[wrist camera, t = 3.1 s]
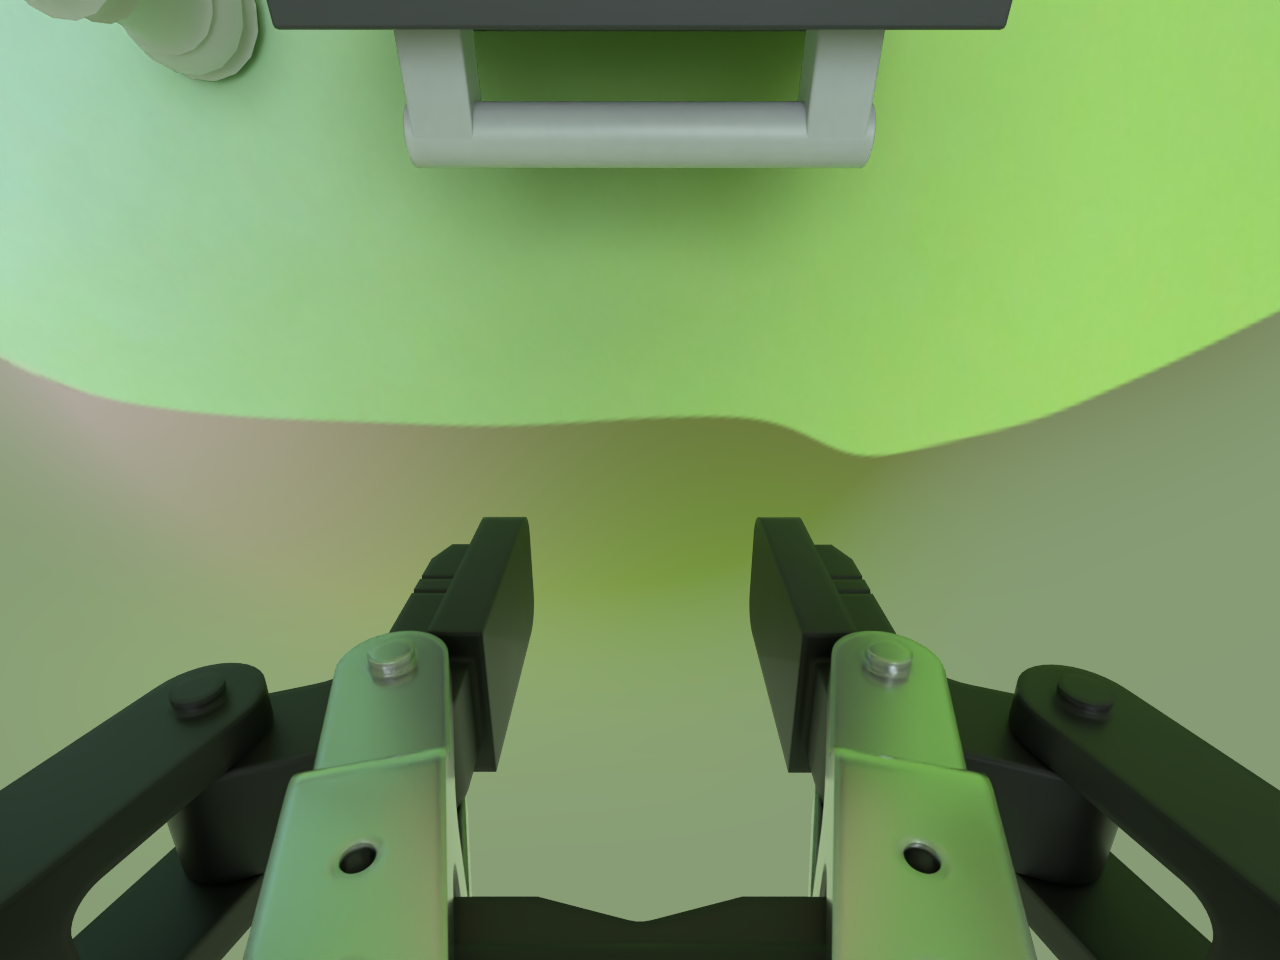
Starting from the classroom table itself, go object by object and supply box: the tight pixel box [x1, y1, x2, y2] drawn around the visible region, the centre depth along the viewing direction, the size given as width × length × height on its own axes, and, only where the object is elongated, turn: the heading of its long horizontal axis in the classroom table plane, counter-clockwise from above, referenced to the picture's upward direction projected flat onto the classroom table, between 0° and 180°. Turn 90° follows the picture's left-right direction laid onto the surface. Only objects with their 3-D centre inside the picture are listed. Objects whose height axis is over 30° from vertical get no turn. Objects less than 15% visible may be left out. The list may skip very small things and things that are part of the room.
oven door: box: [267, 0, 1012, 168], centre depth 21 cm, size 5×16×13 cm, turn 90°
